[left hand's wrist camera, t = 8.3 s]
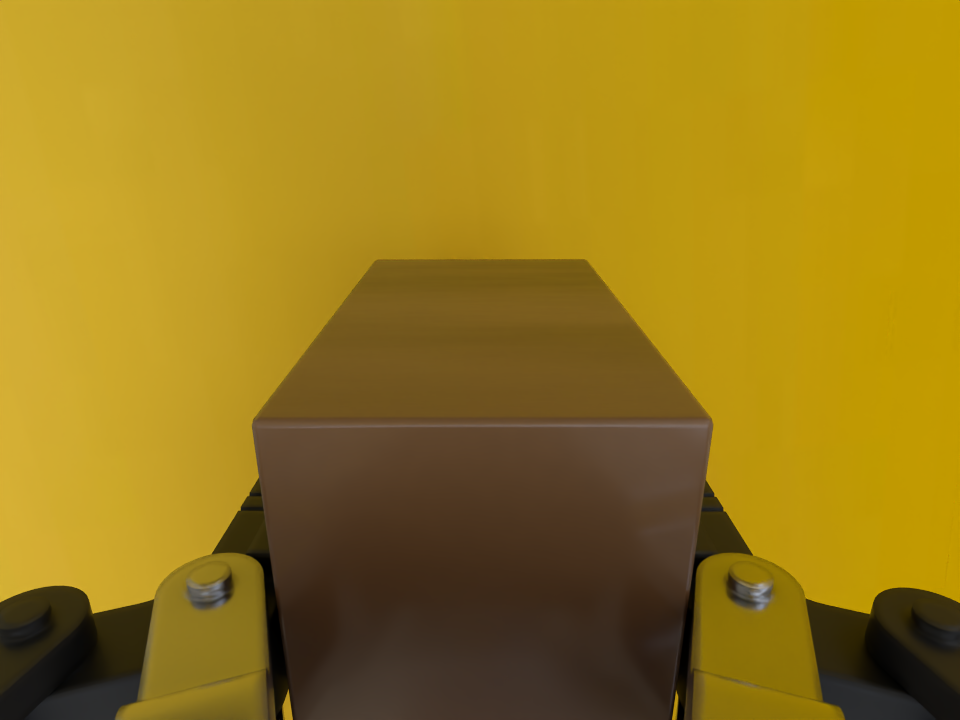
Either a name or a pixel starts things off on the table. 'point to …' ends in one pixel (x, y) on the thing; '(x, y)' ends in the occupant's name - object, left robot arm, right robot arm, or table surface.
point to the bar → (482, 500)
